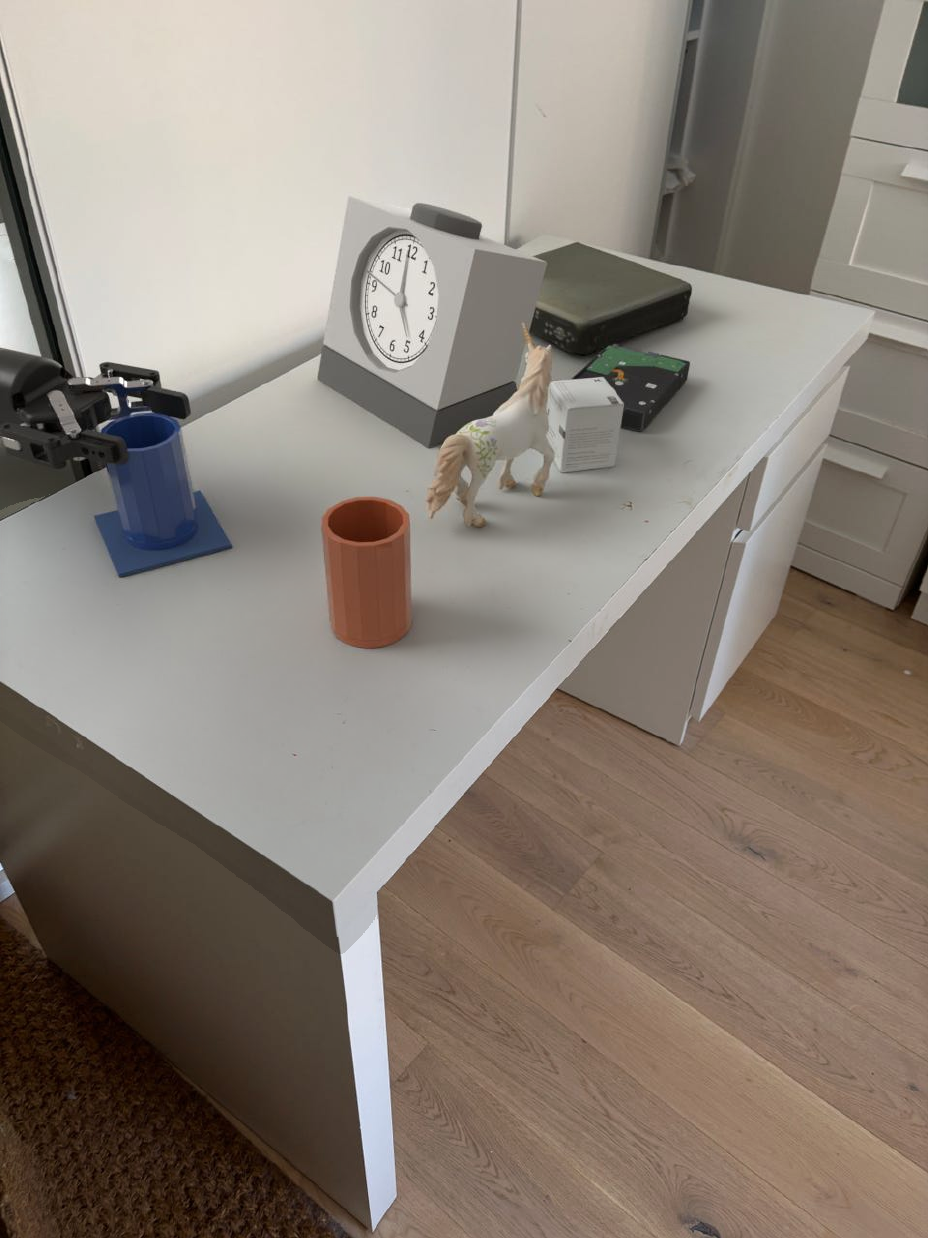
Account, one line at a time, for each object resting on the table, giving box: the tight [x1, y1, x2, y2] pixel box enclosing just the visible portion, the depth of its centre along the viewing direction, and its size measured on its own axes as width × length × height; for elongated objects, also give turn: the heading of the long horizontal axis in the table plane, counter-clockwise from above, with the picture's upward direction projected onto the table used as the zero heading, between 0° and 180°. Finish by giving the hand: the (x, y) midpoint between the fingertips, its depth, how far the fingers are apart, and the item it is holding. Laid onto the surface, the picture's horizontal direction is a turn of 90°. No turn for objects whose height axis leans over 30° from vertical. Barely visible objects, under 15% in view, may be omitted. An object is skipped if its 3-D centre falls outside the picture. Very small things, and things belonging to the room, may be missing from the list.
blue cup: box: [99, 412, 198, 550], centre depth 85 cm, size 7×7×10 cm
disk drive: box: [570, 343, 691, 432], centre depth 110 cm, size 10×3×15 cm
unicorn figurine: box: [425, 322, 555, 528], centre depth 90 cm, size 7×20×13 cm, turn 151°
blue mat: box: [93, 490, 233, 578], centre depth 88 cm, size 10×10×1 cm
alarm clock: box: [316, 195, 547, 449], centre depth 104 cm, size 20×16×20 cm
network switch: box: [529, 241, 693, 356], centre depth 127 cm, size 23×23×5 cm
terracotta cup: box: [320, 496, 413, 649], centre depth 76 cm, size 7×7×10 cm
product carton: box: [546, 377, 624, 473], centre depth 98 cm, size 6×6×7 cm
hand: (157, 428), depth 80 cm, fingers open, 8 cm apart
